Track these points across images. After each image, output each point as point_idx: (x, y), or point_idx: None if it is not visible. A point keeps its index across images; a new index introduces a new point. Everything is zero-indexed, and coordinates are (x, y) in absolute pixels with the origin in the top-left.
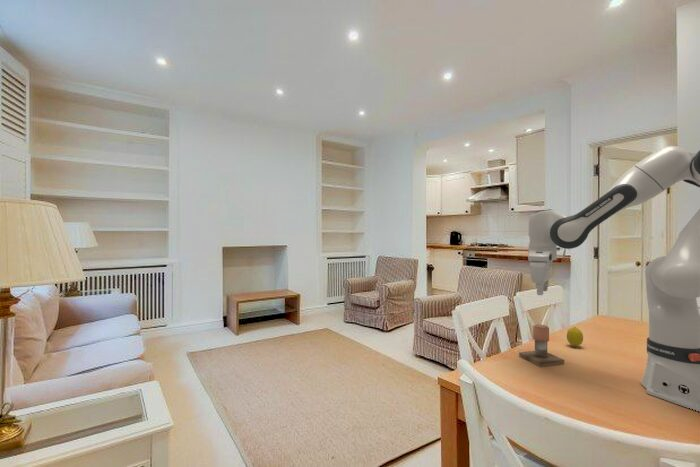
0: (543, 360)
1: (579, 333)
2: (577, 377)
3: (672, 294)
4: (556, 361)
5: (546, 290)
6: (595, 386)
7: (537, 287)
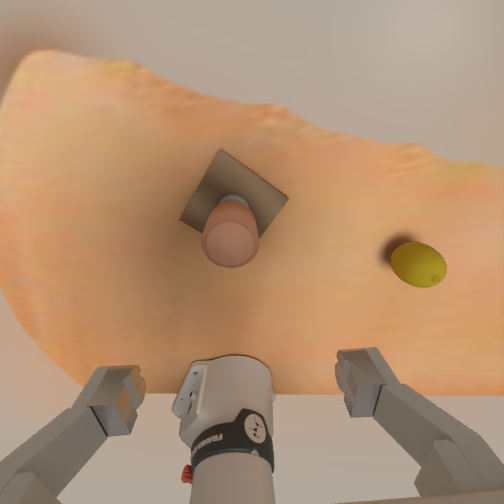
0: (201, 222)
1: (411, 283)
2: (181, 284)
3: None
4: None
5: (337, 379)
6: (161, 310)
7: (29, 449)
